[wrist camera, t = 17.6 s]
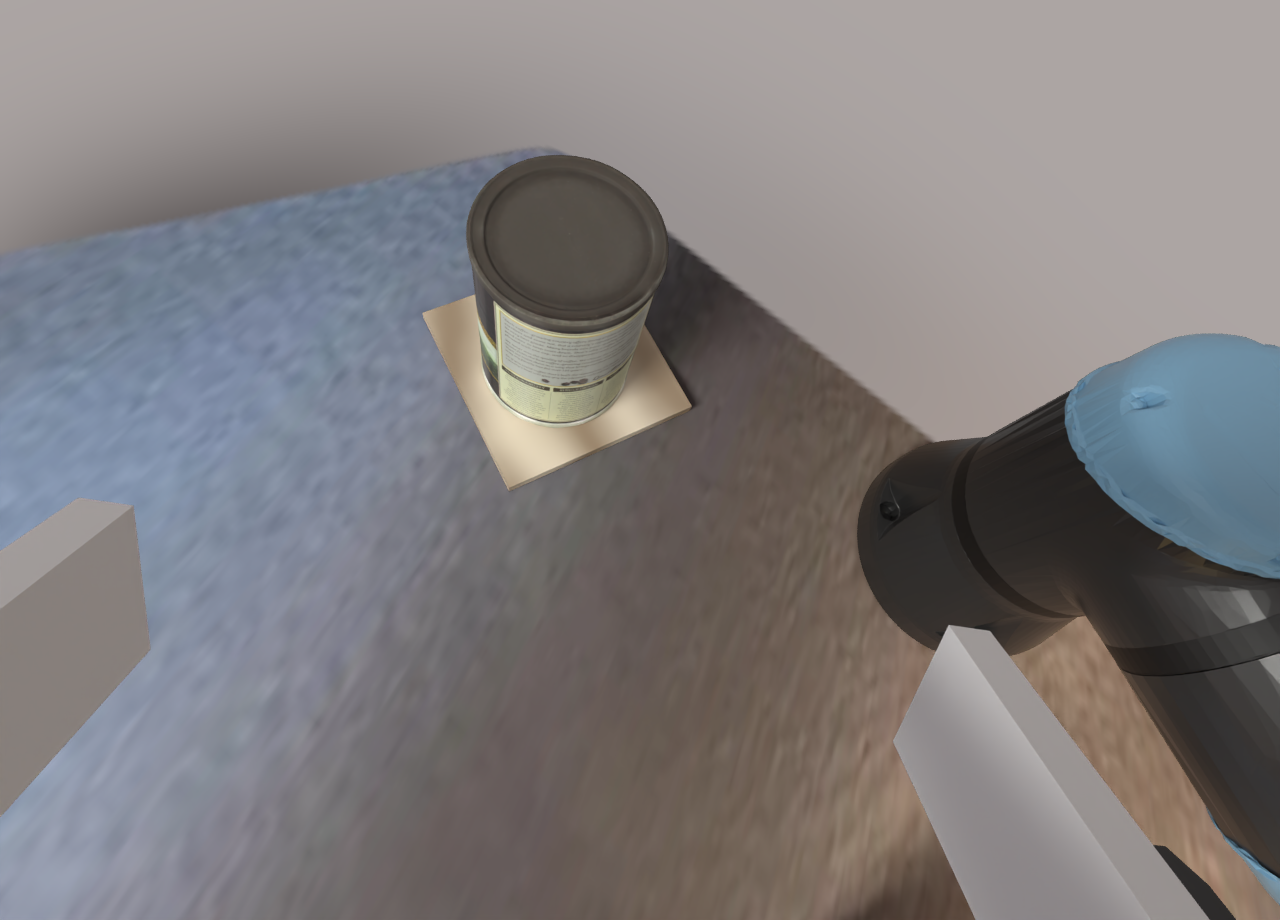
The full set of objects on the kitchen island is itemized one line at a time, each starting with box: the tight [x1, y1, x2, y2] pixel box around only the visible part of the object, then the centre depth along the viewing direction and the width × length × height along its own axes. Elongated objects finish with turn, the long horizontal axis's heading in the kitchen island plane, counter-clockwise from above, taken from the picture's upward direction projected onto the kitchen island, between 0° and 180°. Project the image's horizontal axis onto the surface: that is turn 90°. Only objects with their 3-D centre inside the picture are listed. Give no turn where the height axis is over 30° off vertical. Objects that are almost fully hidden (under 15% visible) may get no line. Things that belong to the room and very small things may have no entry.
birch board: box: [423, 295, 692, 491], centre depth 49 cm, size 14×14×1 cm
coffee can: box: [466, 155, 669, 428], centre depth 42 cm, size 10×10×14 cm
